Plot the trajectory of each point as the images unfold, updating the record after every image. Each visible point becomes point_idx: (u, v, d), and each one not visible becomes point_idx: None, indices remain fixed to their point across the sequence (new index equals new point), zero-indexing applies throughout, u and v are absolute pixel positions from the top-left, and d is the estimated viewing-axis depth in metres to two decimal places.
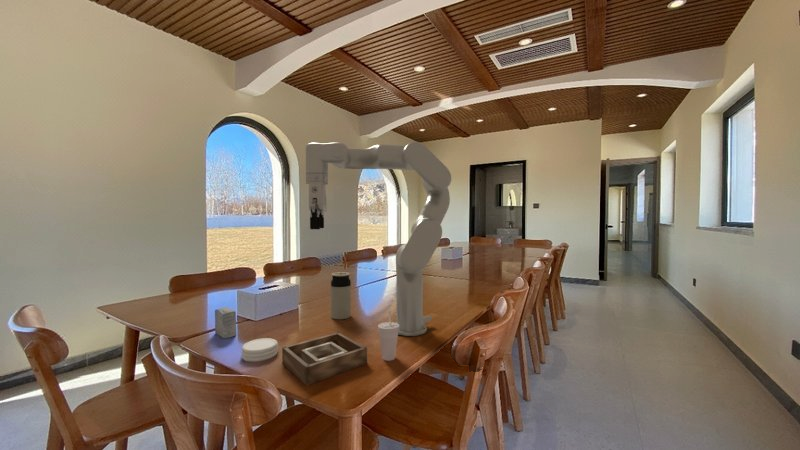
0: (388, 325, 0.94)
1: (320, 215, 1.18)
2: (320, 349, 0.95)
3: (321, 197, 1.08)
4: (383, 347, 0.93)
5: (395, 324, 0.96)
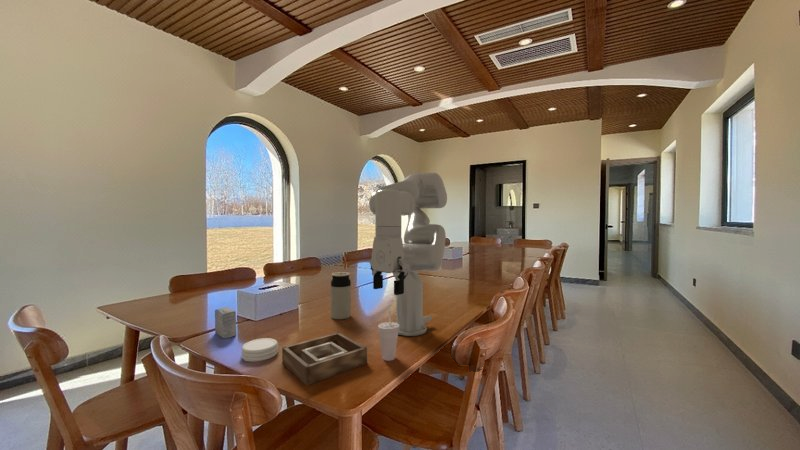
0: (388, 325, 0.94)
1: None
2: (320, 349, 0.95)
3: None
4: (383, 347, 0.93)
5: (395, 324, 0.96)
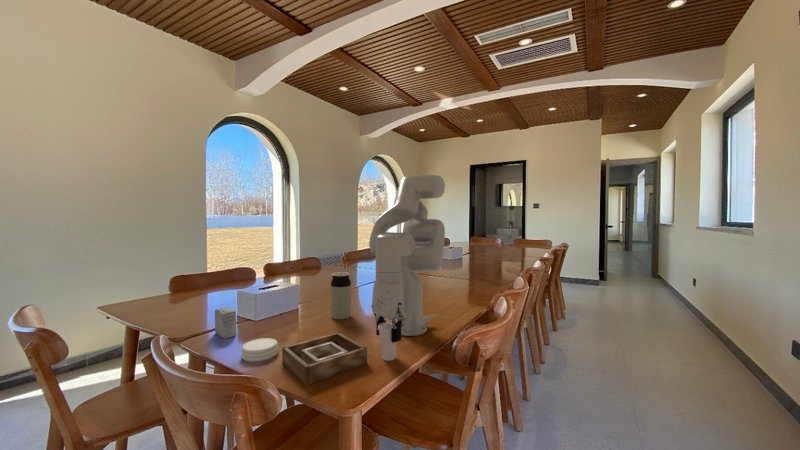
0: (388, 325, 0.94)
1: None
2: (320, 349, 0.95)
3: None
4: (383, 347, 0.93)
5: None
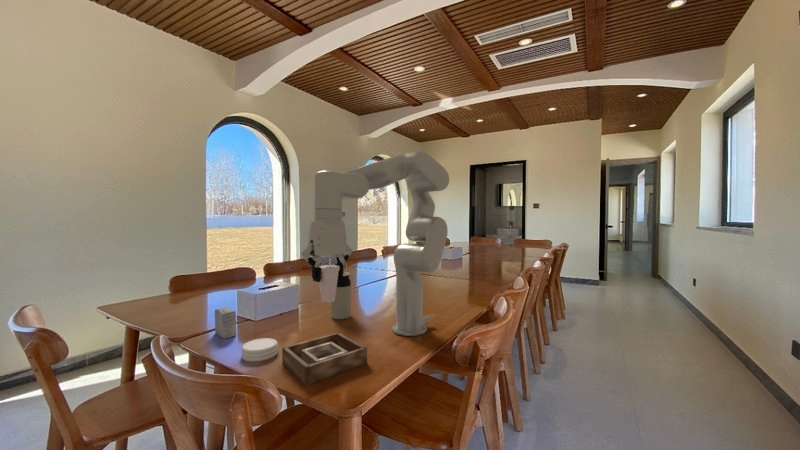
0: (326, 266, 0.91)
1: None
2: (320, 349, 0.95)
3: None
4: None
5: (330, 267, 0.89)
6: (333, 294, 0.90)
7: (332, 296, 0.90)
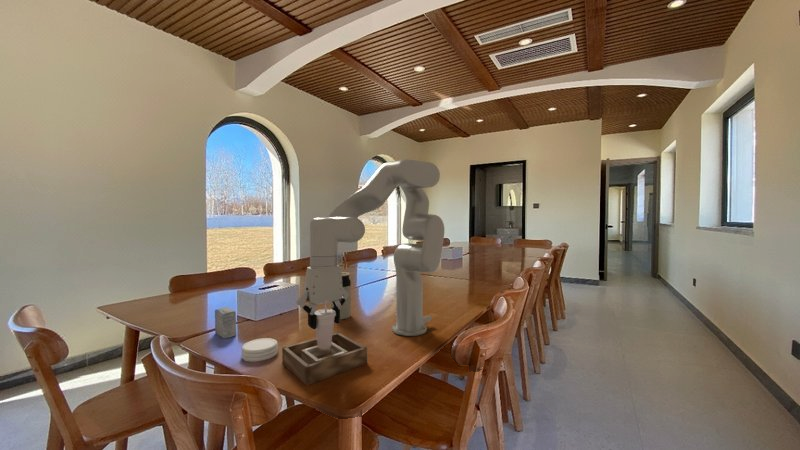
0: (322, 311, 0.91)
1: None
2: (320, 349, 0.95)
3: None
4: None
5: (326, 314, 0.89)
6: (329, 340, 0.90)
7: (328, 342, 0.90)
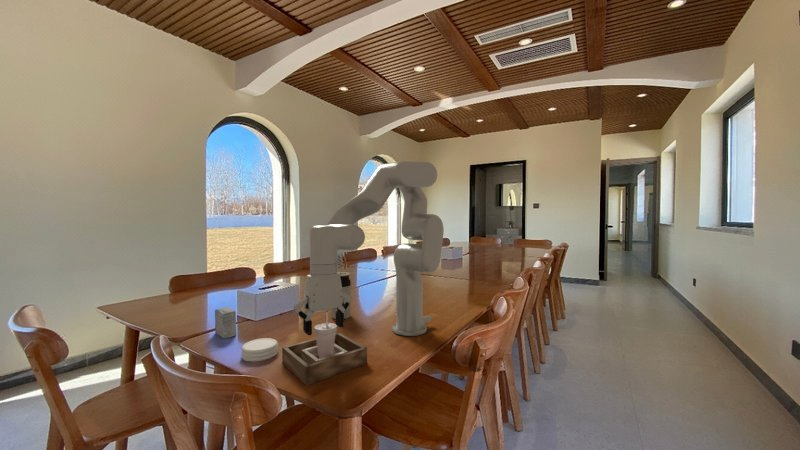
0: (323, 325, 0.92)
1: None
2: None
3: None
4: None
5: (327, 329, 0.90)
6: (331, 354, 0.91)
7: None
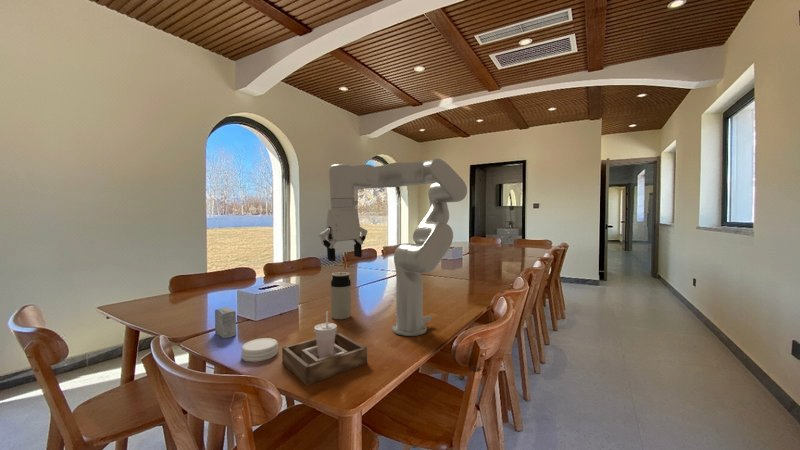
0: (323, 325, 0.92)
1: None
2: None
3: None
4: None
5: (327, 329, 0.90)
6: (331, 354, 0.91)
7: None
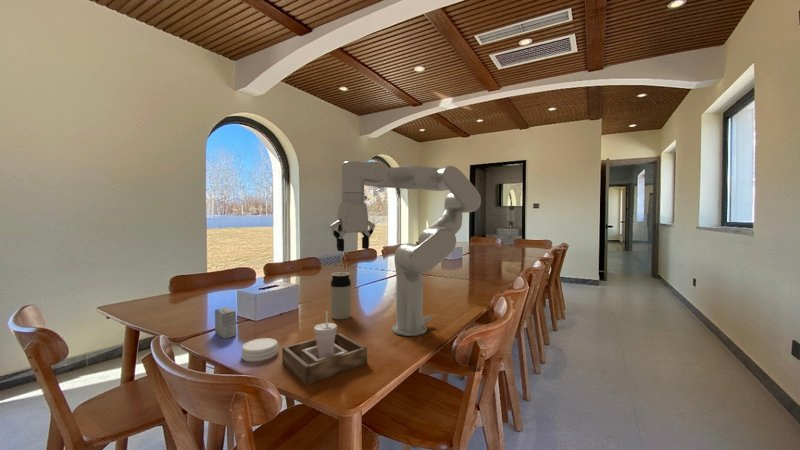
0: (323, 325, 0.92)
1: None
2: None
3: None
4: None
5: (327, 329, 0.90)
6: (331, 354, 0.91)
7: None
